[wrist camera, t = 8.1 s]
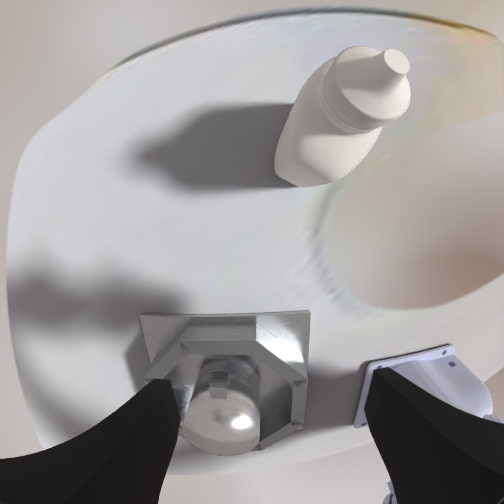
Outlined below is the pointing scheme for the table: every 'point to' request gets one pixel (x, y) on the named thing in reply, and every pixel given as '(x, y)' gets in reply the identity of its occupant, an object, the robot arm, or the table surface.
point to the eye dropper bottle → (341, 115)
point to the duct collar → (237, 348)
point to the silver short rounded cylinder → (224, 409)
